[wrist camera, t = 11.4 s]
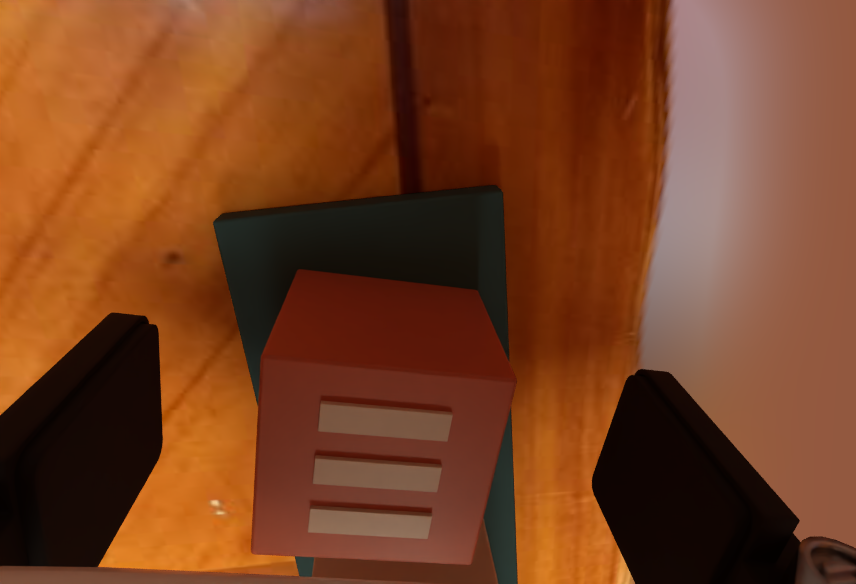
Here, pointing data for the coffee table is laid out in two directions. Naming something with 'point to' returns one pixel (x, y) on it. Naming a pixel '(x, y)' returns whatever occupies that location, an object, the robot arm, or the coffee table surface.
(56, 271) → the coffee table surface
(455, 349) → the red striped block
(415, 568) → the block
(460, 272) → the board
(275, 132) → the coffee table surface
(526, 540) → the coffee table surface
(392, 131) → the coffee table surface
